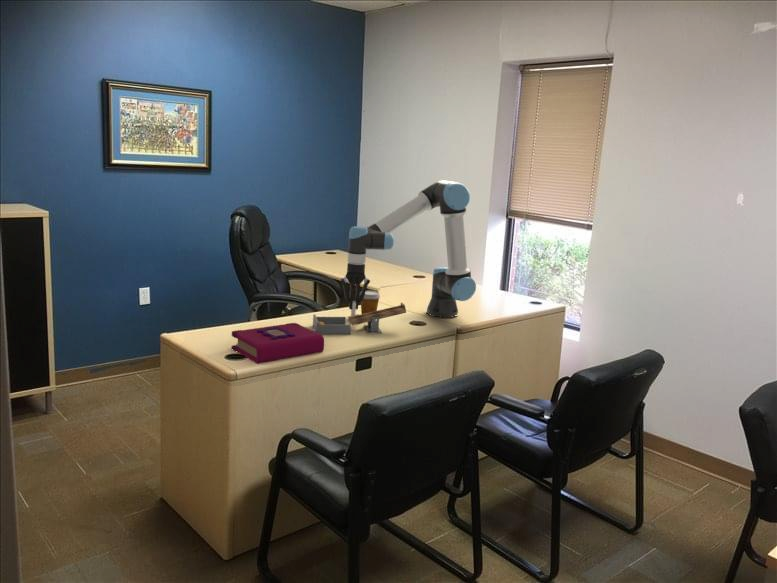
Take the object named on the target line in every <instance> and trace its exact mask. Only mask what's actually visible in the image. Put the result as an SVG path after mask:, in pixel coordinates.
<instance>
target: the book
mask: <svg viewBox="0 0 777 583" xmlns="http://www.w3.org/2000/svg"><path fill="white" fill-rule="evenodd" d="M231 337H233V338H234V339H237V343H236V344H233V345H231V350H232V349H233V350H232V351H234V352H236V351H237V352H236V353H238V354H239V353H240V354H239V355H241V354H242V355H241V356H243V355H244V356H243V357H244V358H246V357H247V359H248V358H249V359H248V360H250V361H252V362H253V361H254V362H253V363H255V364H261V363H267V362H272V361H278V360H283V359H284V360H285V359H288V358H289V359H291V358H294V357H301V356H306V355H311V354H317V352H318V353H323V352H324V349H325V338H324V334H319V333H317V332H315V330H312V329H309V328H307V327H306V326H303V325H301V324H300V323H297V322H290V323H285V324H277V325H270V326H263V327H254V328H249V329H240V330H239V329H238V330H233V331H231Z"/></svg>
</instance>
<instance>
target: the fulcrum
mask: <svg viewBox="0 0 777 583" xmlns="http://www.w3.org/2000/svg"><path fill="white" fill-rule="evenodd" d="M368 313H369V312H368ZM379 326H380V319H379V317H372V318H371V321H369V322H367V325H366V324H364V325H363V328H364V330H365V331H366V330H367V331H366V332H367V334H368V333H382V334H383V331H382V330H381V328H380V327H379Z"/></svg>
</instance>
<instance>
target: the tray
mask: <svg viewBox="0 0 777 583" xmlns="http://www.w3.org/2000/svg"><path fill="white" fill-rule="evenodd" d="M312 317H313V318H312V320H313V321H312V328H314V329H315V330H314V332H317V333H319V334H321V335H351V326H352V325H351V324H346V322H347V321H346V320H347V319H346V316H316V314H313V316H312ZM319 322H323V323H324V325H319Z"/></svg>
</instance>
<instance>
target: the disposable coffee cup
mask: <svg viewBox="0 0 777 583" xmlns="http://www.w3.org/2000/svg"><path fill="white" fill-rule="evenodd" d="M360 294H361V292H359V295H360ZM380 298H381V294H380V292H378V291H375V290H366V292H365V295H364V298H363V301H360V308H361V309H360V311H361V314H365V313H368V312H374V311H378V306H379V301H380ZM361 314H360V315H361Z"/></svg>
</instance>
